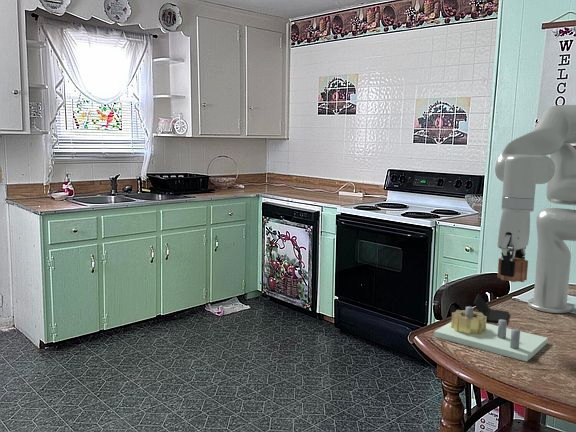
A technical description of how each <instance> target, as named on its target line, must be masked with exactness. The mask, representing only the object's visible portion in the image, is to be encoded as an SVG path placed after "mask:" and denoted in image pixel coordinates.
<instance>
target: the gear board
mask: <svg viewBox="0 0 576 432" xmlns="http://www.w3.org/2000/svg"><path fill="white" fill-rule="evenodd" d="M464 310H465V317H473V311H474V307H473V306H465V309H464ZM433 337H435V338H439V339H442V340H445V341H449V342H453V343H456V344H460V345H464V346H466V347H471V348H475V349H478V350H482V351H485V352H489V353H494V354H497V355H500V356H505V357H508V358H511V359H515V360H520V361H522V362H528V361H529V360H531V359H532V358H533V357H534V356H536V355H537V353H538V352H540V350H542V349H543V348H544V347H545V346H546V345H548V342H549V337H546V336H542V335H537V334H533V333H529V332H525V331H521V330H520V329H518V328H508V320H507V321H506V320H503V319H500V320H499V323H498V324H497V325H495V324H493V323H488V322H486V332H482V334H480V335H479V334H470V335H468V334H465V333H461V332H456V331H454V328H451V321H449V322H448V323H446V324H445V325H443V326H441V327H439V328H437V329H436V330H434V331H433Z"/></svg>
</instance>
